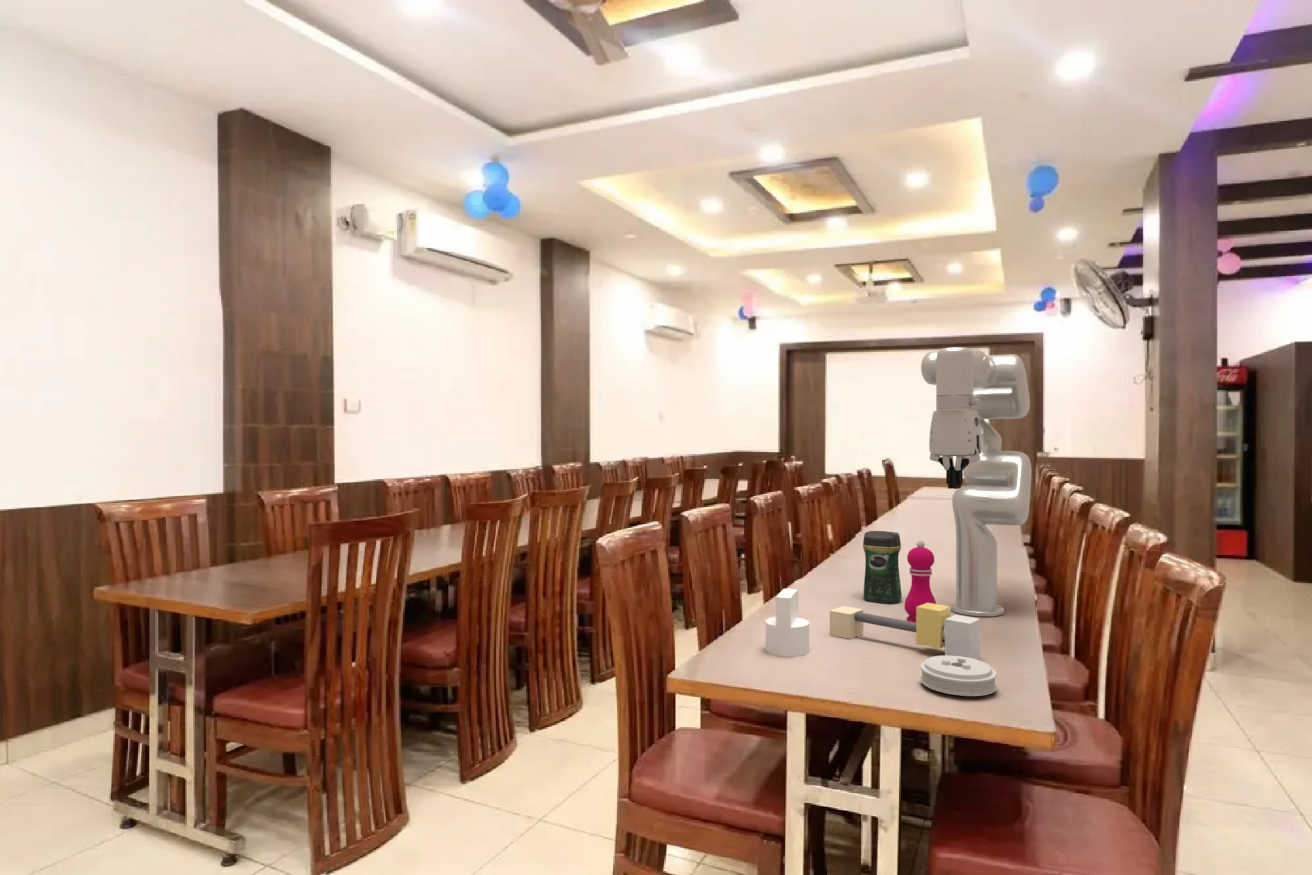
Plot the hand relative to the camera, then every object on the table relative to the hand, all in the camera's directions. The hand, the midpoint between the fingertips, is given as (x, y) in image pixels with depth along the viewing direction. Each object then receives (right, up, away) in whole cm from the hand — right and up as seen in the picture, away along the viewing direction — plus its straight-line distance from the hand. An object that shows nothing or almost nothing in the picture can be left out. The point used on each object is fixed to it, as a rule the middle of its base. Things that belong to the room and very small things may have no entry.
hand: (954, 488), depth 165 cm
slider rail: (-13, -33, -5) cm, 36 cm away
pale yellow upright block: (-8, -31, -10) cm, 34 cm away
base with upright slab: (-38, -34, -7) cm, 51 cm away
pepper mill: (-4, -33, +11) cm, 35 cm away
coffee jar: (-5, -33, +37) cm, 50 cm away
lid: (-11, -34, -30) cm, 47 cm away
